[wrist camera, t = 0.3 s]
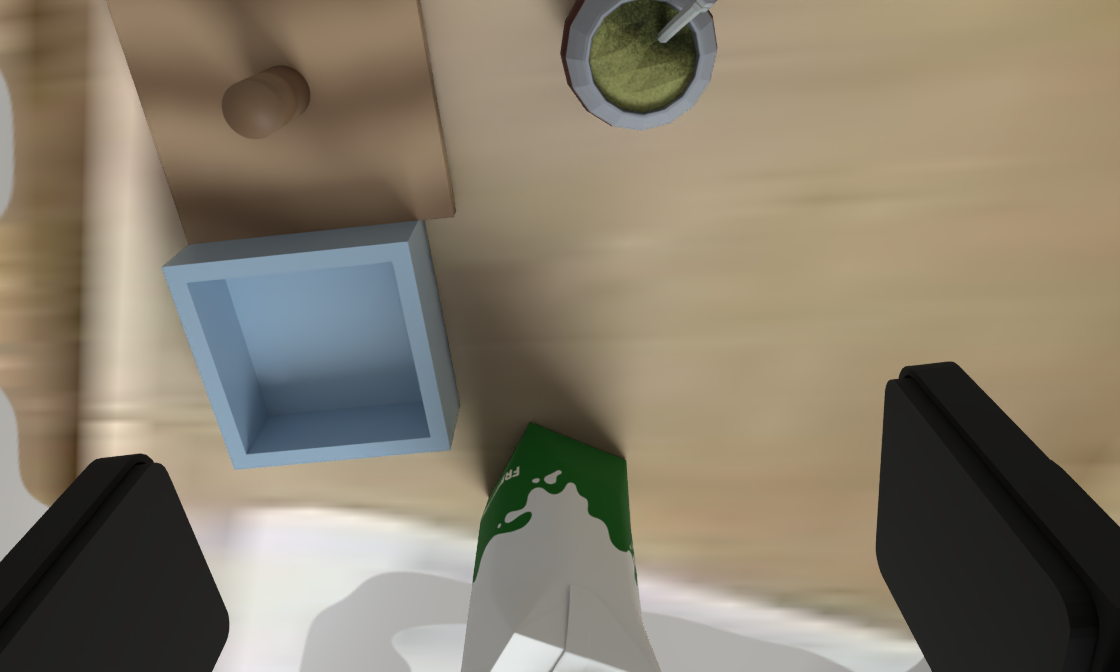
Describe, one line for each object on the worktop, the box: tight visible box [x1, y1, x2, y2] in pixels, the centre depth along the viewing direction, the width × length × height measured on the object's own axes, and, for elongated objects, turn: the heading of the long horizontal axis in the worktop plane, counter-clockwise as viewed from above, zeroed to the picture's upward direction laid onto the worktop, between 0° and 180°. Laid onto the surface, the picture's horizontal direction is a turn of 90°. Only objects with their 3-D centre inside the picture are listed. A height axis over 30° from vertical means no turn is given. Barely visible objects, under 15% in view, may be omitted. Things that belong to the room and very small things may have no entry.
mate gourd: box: [560, 0, 717, 131], centre depth 34 cm, size 8×8×15 cm
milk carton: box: [461, 422, 661, 672], centre depth 44 cm, size 9×9×20 cm
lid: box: [106, 0, 456, 244], centre depth 38 cm, size 15×15×6 cm
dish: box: [162, 220, 460, 470], centre depth 46 cm, size 13×13×5 cm
